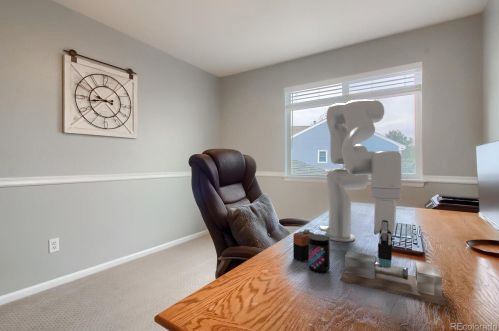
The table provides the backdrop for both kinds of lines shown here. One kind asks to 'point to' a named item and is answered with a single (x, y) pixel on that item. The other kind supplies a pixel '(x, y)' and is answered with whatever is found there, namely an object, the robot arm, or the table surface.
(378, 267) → the l-shaped stand
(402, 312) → the table surface
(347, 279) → the tube rig
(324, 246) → the supplement container
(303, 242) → the battery
